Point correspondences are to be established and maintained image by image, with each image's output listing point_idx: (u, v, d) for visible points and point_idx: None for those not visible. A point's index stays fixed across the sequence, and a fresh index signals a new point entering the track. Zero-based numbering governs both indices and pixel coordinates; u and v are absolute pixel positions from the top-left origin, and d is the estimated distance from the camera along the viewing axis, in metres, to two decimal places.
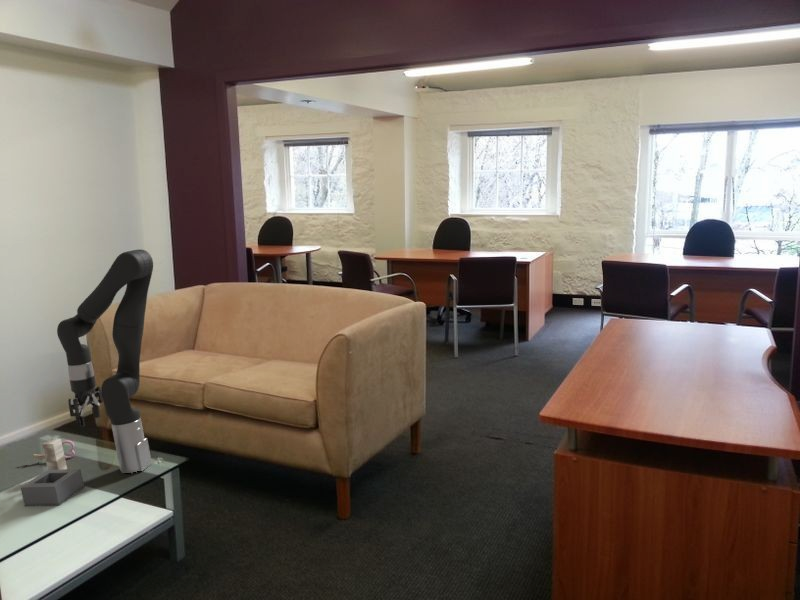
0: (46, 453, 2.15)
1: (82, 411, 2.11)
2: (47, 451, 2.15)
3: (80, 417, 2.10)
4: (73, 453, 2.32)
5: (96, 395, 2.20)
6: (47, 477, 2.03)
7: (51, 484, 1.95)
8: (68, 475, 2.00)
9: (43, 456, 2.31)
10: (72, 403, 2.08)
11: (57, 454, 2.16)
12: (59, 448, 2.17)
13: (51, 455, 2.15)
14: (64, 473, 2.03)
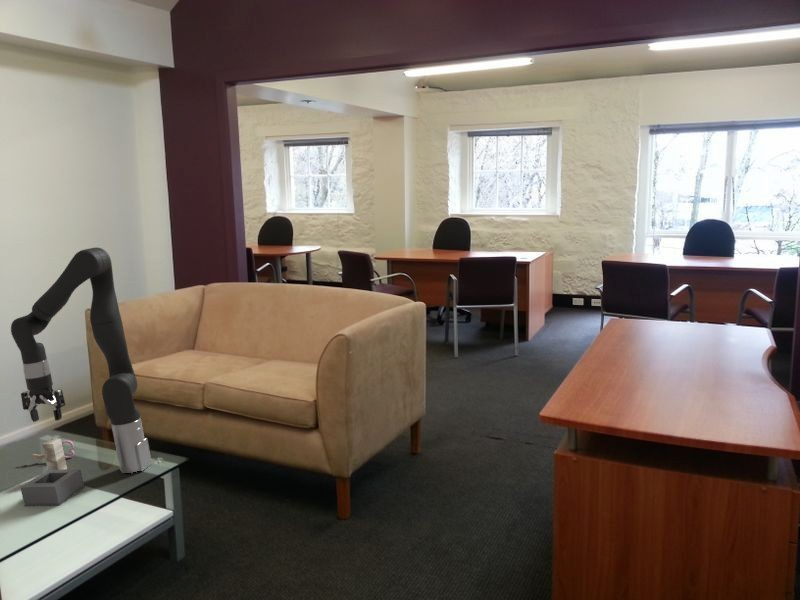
0: (46, 453, 2.15)
1: None
2: (47, 451, 2.15)
3: None
4: (72, 453, 2.32)
5: (27, 400, 2.15)
6: (47, 477, 2.03)
7: (51, 484, 1.95)
8: (68, 475, 2.00)
9: (42, 456, 2.31)
10: (60, 393, 2.13)
11: (57, 454, 2.16)
12: (59, 448, 2.17)
13: (51, 455, 2.15)
14: (64, 473, 2.03)
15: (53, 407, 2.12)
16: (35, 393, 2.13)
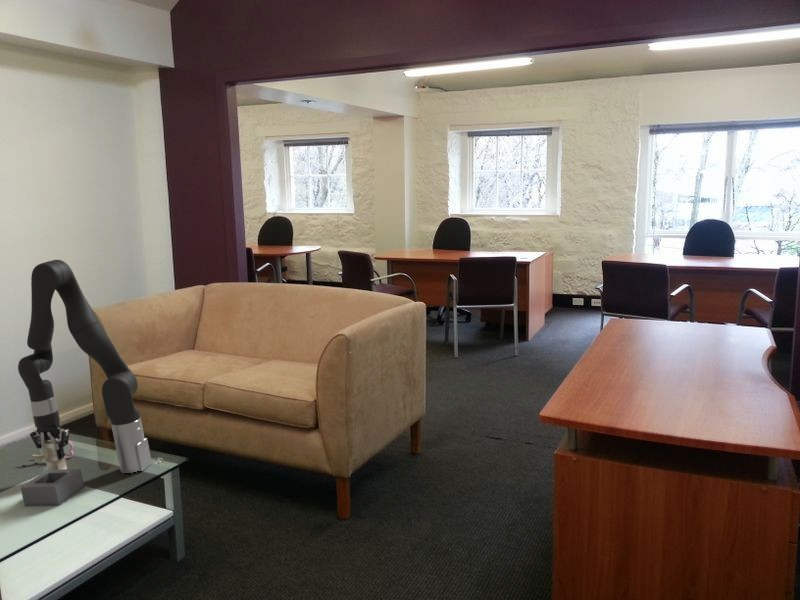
0: (46, 453, 2.15)
1: None
2: (47, 451, 2.15)
3: None
4: (72, 453, 2.32)
5: (38, 438, 2.17)
6: (47, 477, 2.03)
7: (51, 484, 1.95)
8: (68, 475, 2.00)
9: (42, 456, 2.31)
10: (67, 434, 2.15)
11: None
12: None
13: (51, 455, 2.15)
14: (64, 473, 2.03)
15: (56, 446, 2.15)
16: (43, 430, 2.15)
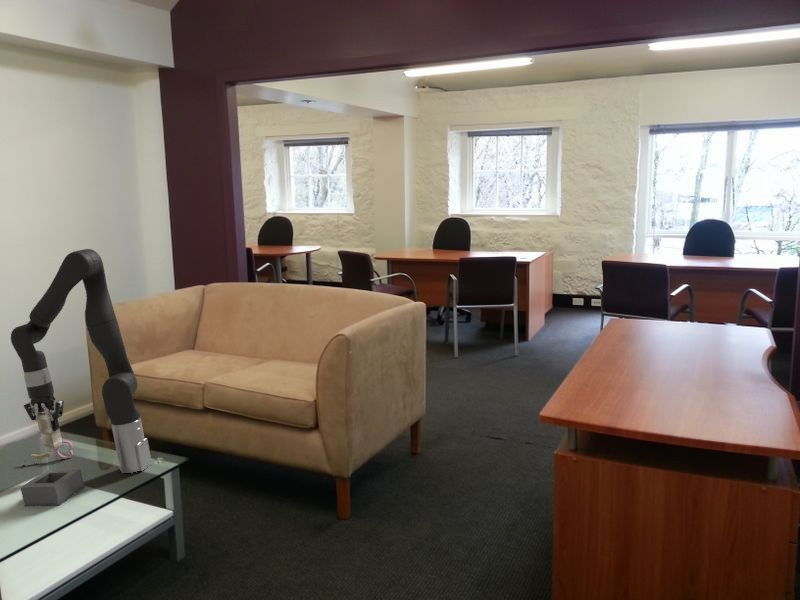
0: (40, 425, 2.14)
1: None
2: (41, 423, 2.13)
3: None
4: (71, 453, 2.32)
5: (32, 410, 2.16)
6: (47, 477, 2.03)
7: (51, 484, 1.95)
8: (68, 475, 2.00)
9: (41, 456, 2.31)
10: (61, 405, 2.13)
11: None
12: None
13: (45, 427, 2.13)
14: (64, 473, 2.03)
15: (51, 417, 2.13)
16: (37, 401, 2.13)
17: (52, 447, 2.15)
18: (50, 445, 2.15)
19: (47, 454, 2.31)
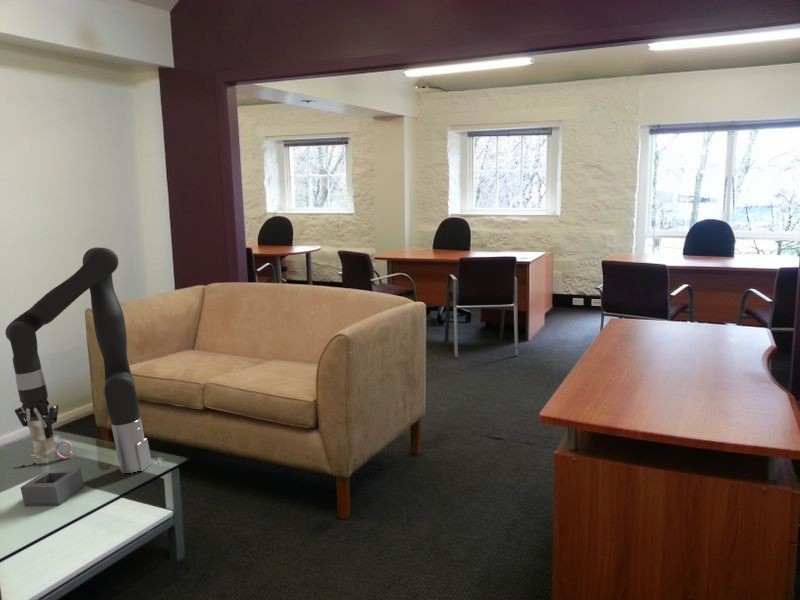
0: (32, 431, 1.95)
1: None
2: (33, 429, 1.95)
3: None
4: (70, 453, 2.32)
5: (24, 415, 1.97)
6: (47, 477, 2.03)
7: (51, 484, 1.95)
8: (68, 475, 2.00)
9: None
10: (55, 410, 1.95)
11: None
12: None
13: (38, 434, 1.95)
14: (64, 473, 2.03)
15: (44, 424, 1.95)
16: (29, 406, 1.95)
17: (45, 456, 1.96)
18: (42, 454, 1.96)
19: None
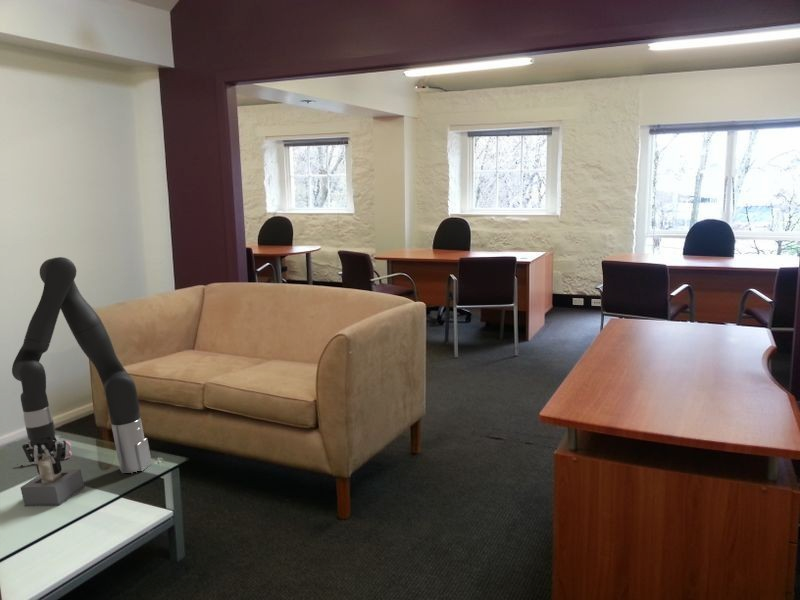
0: (41, 471, 1.98)
1: None
2: (42, 469, 1.97)
3: None
4: (70, 454, 2.32)
5: (31, 451, 1.99)
6: None
7: (51, 484, 1.95)
8: (68, 475, 2.00)
9: None
10: (63, 446, 1.97)
11: None
12: None
13: (47, 474, 1.98)
14: (64, 473, 2.03)
15: (52, 460, 1.97)
16: (36, 442, 1.97)
17: None
18: None
19: (46, 455, 2.31)
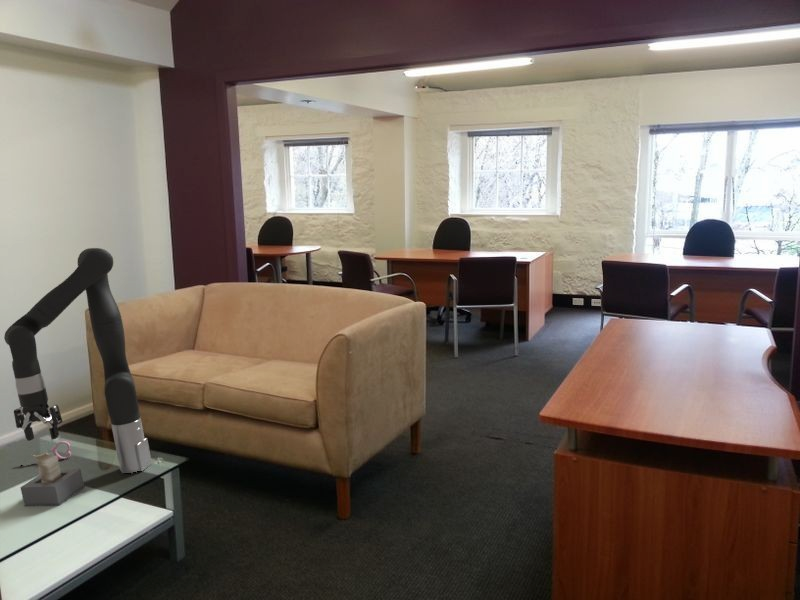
0: (41, 471, 1.98)
1: None
2: (42, 469, 1.97)
3: None
4: (69, 454, 2.32)
5: (21, 417, 1.98)
6: None
7: (51, 484, 1.95)
8: (68, 475, 2.00)
9: (39, 457, 2.30)
10: (56, 410, 1.95)
11: (53, 472, 1.98)
12: (55, 466, 1.99)
13: (46, 474, 1.98)
14: (64, 473, 2.03)
15: (49, 425, 1.95)
16: (29, 410, 1.95)
17: None
18: None
19: (45, 455, 2.31)
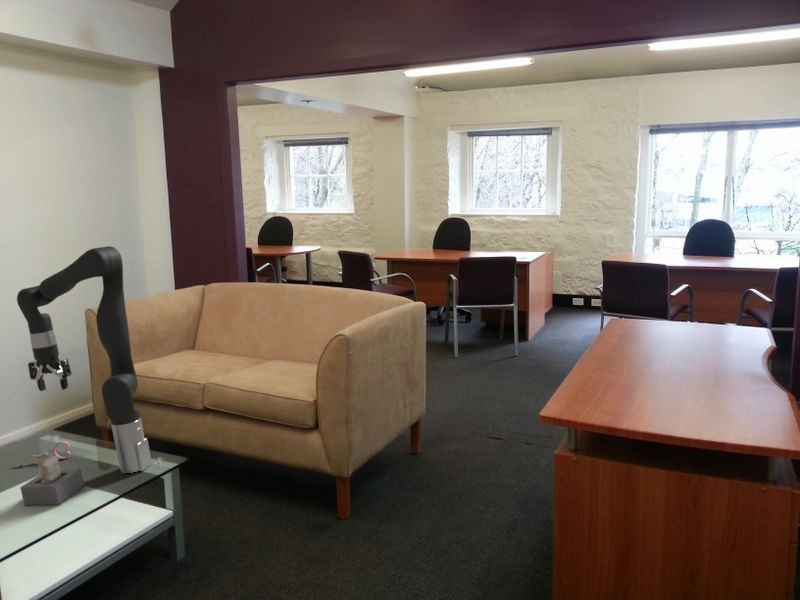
0: (41, 471, 1.98)
1: None
2: (42, 469, 1.97)
3: None
4: (68, 454, 2.32)
5: (34, 370, 2.20)
6: None
7: (51, 484, 1.95)
8: (68, 475, 2.00)
9: (38, 457, 2.30)
10: (66, 363, 2.18)
11: (53, 472, 1.98)
12: (55, 466, 1.99)
13: (46, 474, 1.98)
14: (64, 473, 2.03)
15: (59, 376, 2.18)
16: (42, 363, 2.18)
17: None
18: None
19: (44, 455, 2.31)
